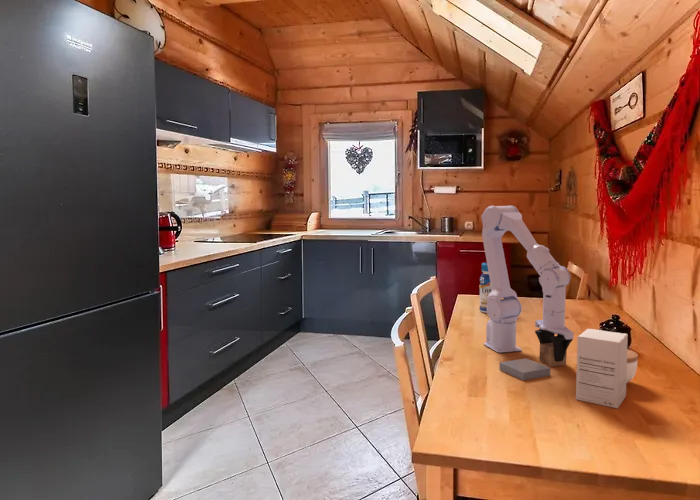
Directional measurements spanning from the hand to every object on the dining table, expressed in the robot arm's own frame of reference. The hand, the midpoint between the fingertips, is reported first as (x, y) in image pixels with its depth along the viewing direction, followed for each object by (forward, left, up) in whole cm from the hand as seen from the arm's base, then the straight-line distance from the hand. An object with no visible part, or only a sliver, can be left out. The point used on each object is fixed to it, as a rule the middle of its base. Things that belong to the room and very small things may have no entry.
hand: (552, 358), depth 141 cm
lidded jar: (+17, +5, -2) cm, 18 cm away
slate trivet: (+5, -12, -2) cm, 13 cm away
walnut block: (0, 0, -1) cm, 1 cm away
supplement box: (+25, -5, -2) cm, 26 cm away
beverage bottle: (-65, +16, -2) cm, 67 cm away
